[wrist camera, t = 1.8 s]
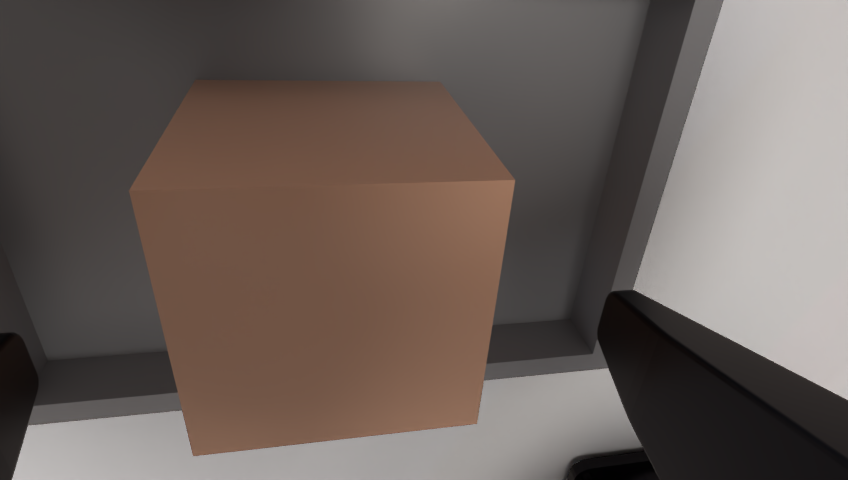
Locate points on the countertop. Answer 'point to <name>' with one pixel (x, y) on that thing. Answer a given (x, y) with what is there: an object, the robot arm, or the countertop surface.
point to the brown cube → (322, 259)
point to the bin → (329, 61)
